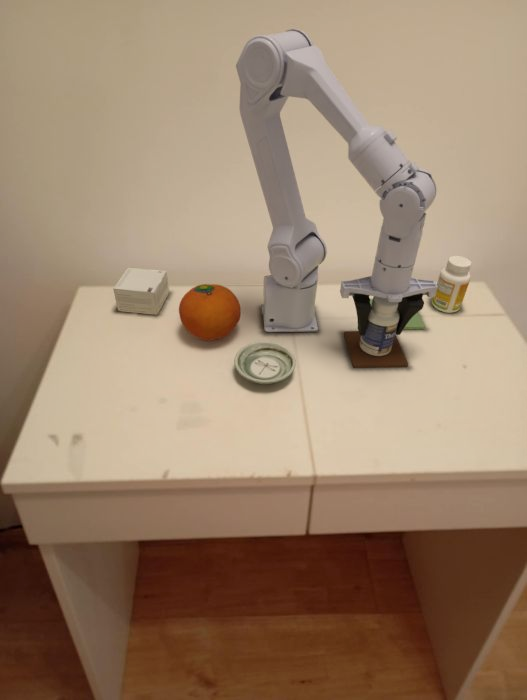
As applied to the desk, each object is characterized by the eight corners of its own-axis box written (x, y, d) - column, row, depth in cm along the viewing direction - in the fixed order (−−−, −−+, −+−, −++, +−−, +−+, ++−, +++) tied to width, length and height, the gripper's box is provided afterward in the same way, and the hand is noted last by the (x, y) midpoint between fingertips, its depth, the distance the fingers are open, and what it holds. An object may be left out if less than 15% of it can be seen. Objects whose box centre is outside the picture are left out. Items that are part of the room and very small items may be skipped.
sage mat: (375, 329, 85) (376, 327, 84) (364, 301, 91) (365, 299, 91) (424, 329, 85) (425, 326, 85) (410, 301, 92) (411, 298, 92)
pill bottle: (384, 361, 77) (396, 313, 71) (354, 349, 79) (363, 301, 73) (395, 344, 81) (408, 296, 74) (366, 333, 83) (376, 286, 76)
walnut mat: (353, 367, 77) (353, 365, 76) (343, 333, 84) (343, 331, 83) (407, 367, 77) (408, 364, 77) (393, 333, 84) (394, 330, 84)
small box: (131, 289, 93) (127, 266, 90) (170, 292, 92) (167, 270, 89) (117, 311, 87) (111, 288, 84) (158, 315, 86) (154, 292, 83)
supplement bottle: (456, 298, 93) (471, 254, 87) (462, 314, 89) (479, 269, 83) (429, 296, 93) (442, 252, 87) (433, 312, 89) (447, 267, 83)
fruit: (249, 341, 81) (249, 302, 76) (190, 355, 78) (186, 316, 73) (229, 308, 89) (227, 271, 84) (175, 319, 86) (170, 281, 80)
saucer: (226, 385, 73) (226, 374, 71) (244, 347, 80) (244, 336, 78) (287, 398, 71) (288, 386, 69) (300, 358, 78) (301, 346, 77)
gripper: (351, 272, 66) (339, 347, 74) (453, 271, 66) (429, 346, 75) (342, 248, 71) (332, 320, 80) (436, 248, 72) (416, 319, 80)
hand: (378, 331), depth 78 cm, fingers closed on pill bottle, 5 cm apart
